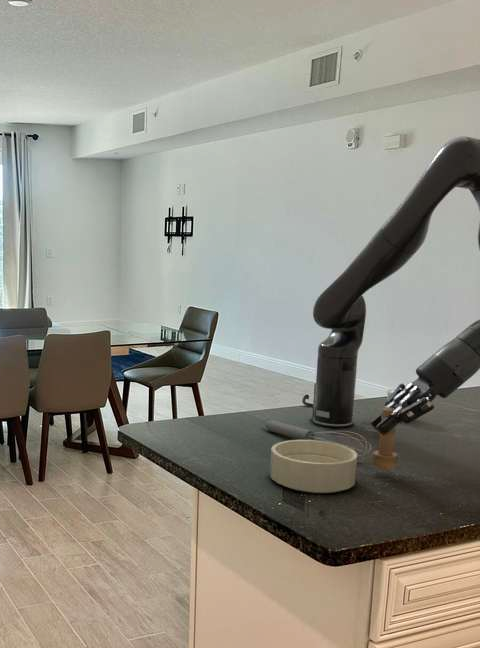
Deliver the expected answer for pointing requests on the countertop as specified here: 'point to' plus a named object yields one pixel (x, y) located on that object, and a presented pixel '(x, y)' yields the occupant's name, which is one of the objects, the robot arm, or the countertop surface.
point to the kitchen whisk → (305, 433)
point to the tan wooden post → (386, 446)
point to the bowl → (313, 466)
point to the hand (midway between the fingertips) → (376, 429)
